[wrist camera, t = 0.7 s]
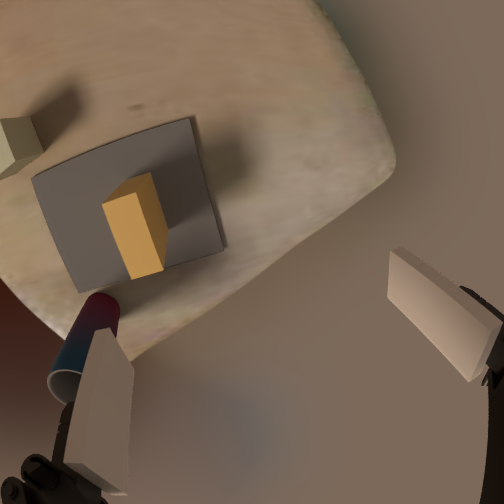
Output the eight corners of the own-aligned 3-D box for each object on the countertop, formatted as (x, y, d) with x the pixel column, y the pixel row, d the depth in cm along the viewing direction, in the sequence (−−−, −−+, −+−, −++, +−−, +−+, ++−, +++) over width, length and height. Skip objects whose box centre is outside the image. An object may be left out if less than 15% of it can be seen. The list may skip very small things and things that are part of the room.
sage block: (2, 139, 24) (-30, 147, 18) (30, 116, 24) (-1, 118, 18) (16, 173, 26) (-15, 186, 20) (44, 152, 27) (15, 160, 20)
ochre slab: (125, 180, 30) (101, 204, 21) (150, 171, 30) (135, 192, 21) (144, 237, 33) (131, 279, 24) (168, 229, 33) (163, 270, 24)
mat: (33, 177, 27) (30, 178, 27) (188, 118, 29) (188, 117, 29) (80, 291, 34) (79, 293, 34) (223, 248, 36) (224, 250, 36)
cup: (132, 325, 38) (120, 412, 25) (89, 330, 37) (65, 412, 24) (118, 283, 35) (93, 368, 22) (73, 289, 34) (35, 369, 21)
